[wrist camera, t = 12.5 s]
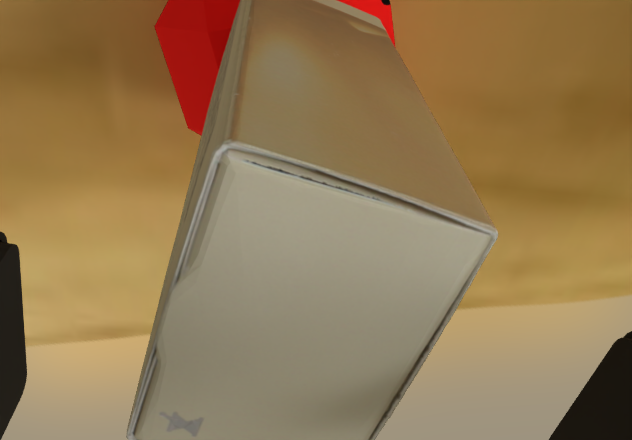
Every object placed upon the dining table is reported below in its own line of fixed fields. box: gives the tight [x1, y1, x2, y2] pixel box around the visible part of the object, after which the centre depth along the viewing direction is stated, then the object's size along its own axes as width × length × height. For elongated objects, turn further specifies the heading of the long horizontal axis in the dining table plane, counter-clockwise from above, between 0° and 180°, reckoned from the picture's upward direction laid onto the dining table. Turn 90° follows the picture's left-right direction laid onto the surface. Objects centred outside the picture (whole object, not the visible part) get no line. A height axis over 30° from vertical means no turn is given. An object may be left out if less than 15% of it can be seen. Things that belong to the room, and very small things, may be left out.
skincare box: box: [127, 0, 498, 440], centre depth 15 cm, size 6×4×12 cm
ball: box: [154, 0, 395, 136], centre depth 23 cm, size 8×8×8 cm
